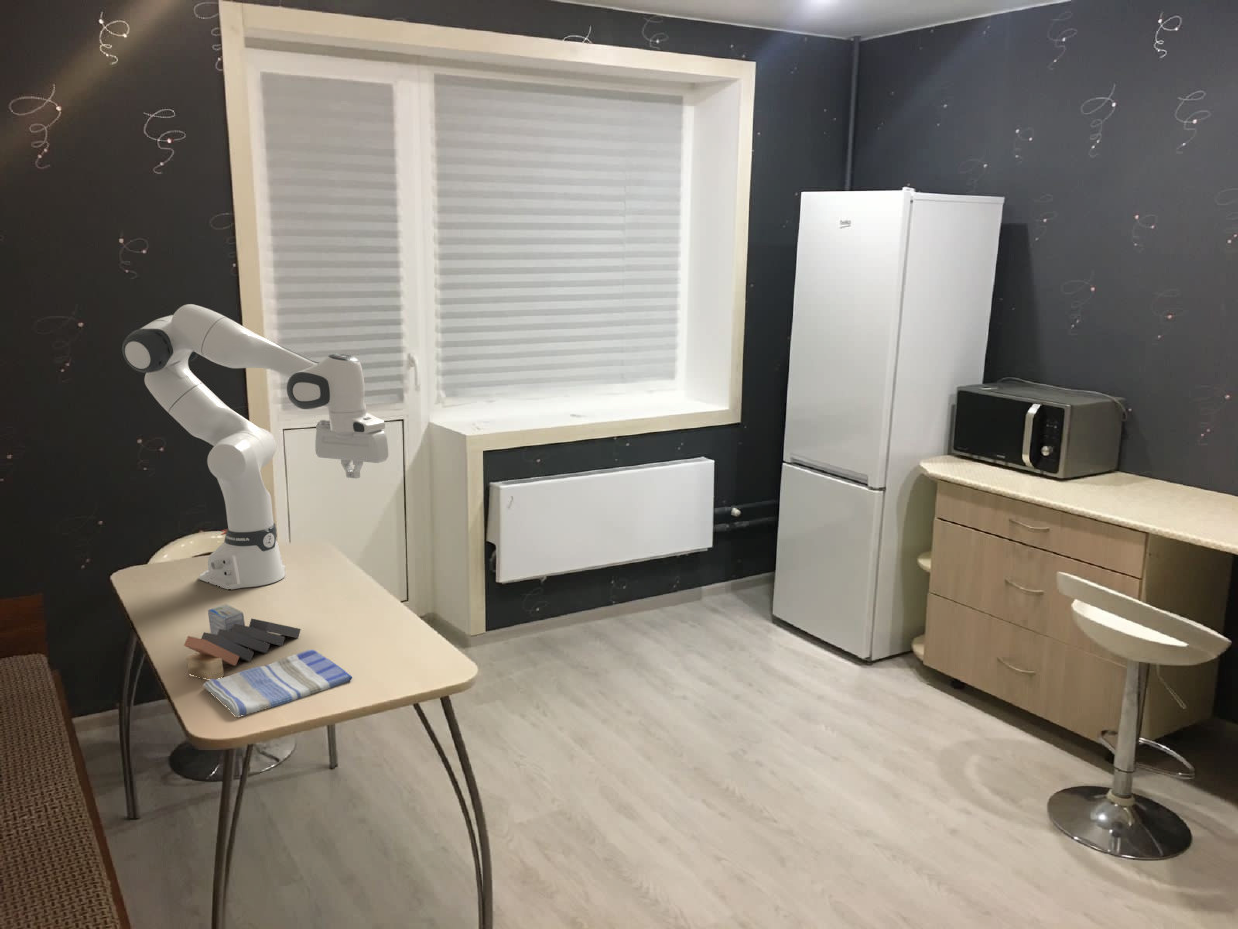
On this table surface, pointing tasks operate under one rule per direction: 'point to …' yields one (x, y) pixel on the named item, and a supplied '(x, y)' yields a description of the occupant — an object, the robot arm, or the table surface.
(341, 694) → the table surface
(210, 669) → the end block
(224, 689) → the dish towel
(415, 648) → the table surface
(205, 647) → the domino
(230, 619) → the medicine box
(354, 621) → the table surface
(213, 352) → the robot arm
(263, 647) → the domino
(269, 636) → the domino
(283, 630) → the domino
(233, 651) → the domino
